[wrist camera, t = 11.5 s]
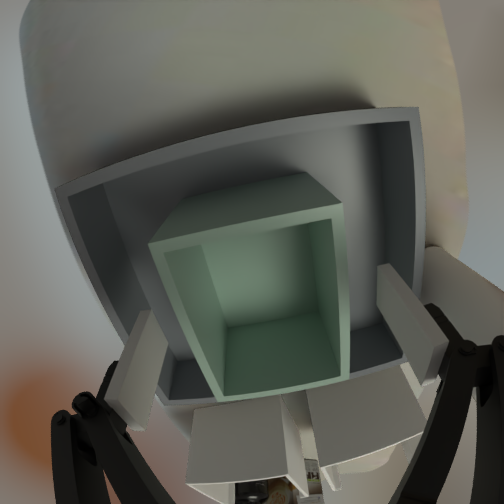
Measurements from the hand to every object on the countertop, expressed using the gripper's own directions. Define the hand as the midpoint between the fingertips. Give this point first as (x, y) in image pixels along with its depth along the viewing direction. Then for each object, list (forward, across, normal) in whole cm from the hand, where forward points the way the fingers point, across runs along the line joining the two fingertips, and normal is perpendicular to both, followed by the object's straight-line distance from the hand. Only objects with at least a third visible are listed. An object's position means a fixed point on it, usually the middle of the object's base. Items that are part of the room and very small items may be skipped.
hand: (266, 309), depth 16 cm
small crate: (+7, 0, 0) cm, 7 cm away
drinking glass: (+8, +15, -6) cm, 18 cm away
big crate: (+8, 0, -1) cm, 8 cm away
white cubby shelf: (+8, +1, -24) cm, 25 cm away
